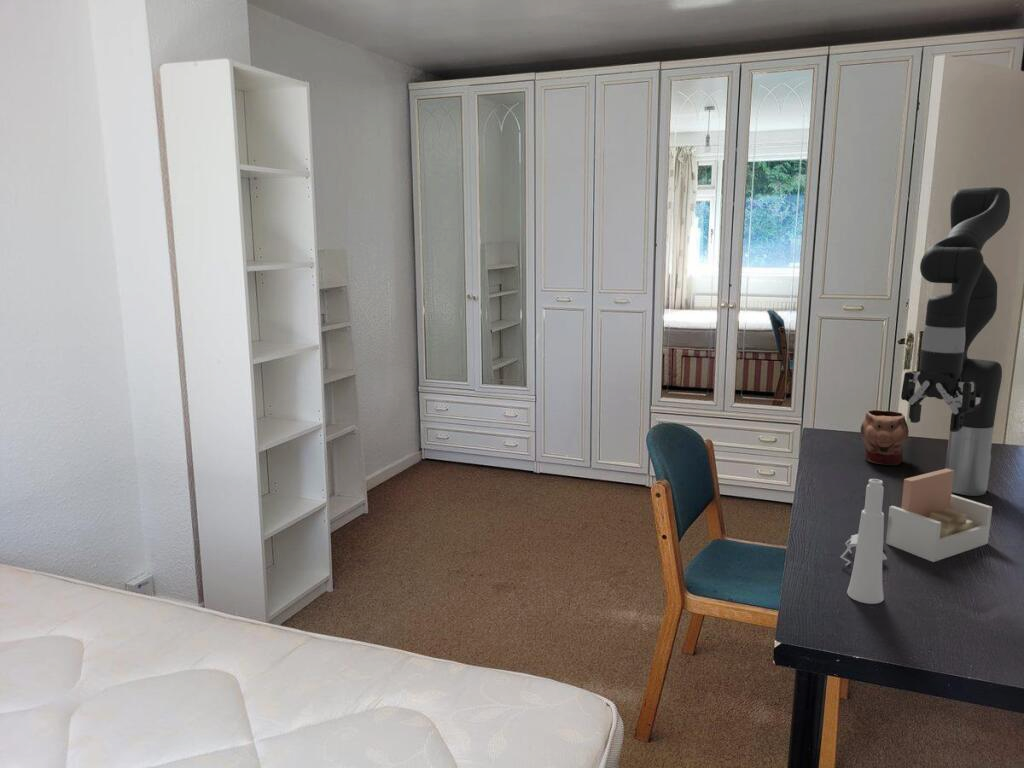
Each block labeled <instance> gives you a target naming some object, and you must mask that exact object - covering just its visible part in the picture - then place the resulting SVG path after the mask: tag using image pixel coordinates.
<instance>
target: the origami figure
mask: <svg viewBox="0 0 1024 768" xmlns="http://www.w3.org/2000/svg"><path fill="white" fill-rule="evenodd" d="M857 540H858V533H856V534H852V535H850V538H849V539H848V540H847V541H846V542H845V543H844V544H845V546H846V547H847V548H846V550H845V551H843V553H842V554H841V555H840V556H839V558H840V559H842V560H844V561H846V562H847V563H845V566H847V567H848V565H849V564H850V563H851V560H849V559H847V558H846V557H845V555H846V554H847V553H848V552H849V553H850V554H852V553H853V552H852V550H851V548H852V547H857ZM883 543H885V540H884V539H883ZM887 560H888V557H887V556H886V555H885V553H884V552H883V556H882V562H883V561H884V562H885V561H887Z"/></svg>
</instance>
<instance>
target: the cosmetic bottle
mask: <svg viewBox="0 0 1024 768" xmlns="http://www.w3.org/2000/svg"><path fill="white" fill-rule="evenodd" d="M884 489H885V488H884V486H883V480H882V479H877V478H869V479H868V484H867V485H866V489H865V490H866V491H865V497H864V499H865V500H864V501H865V503H864V509H862V510H861V514H860V520H859V527H858V532H857V534H858V540H857V546H855V547H856V548H855V555H854V561H853V566H852V570H851V571H852V572H851V576H850V582H849V584H848V588H847V591H846V594H847V595H848V597H849V598H850V599H852V600H854V601H855V602H859V603H862V604H863V603H864V604H869V605H875V604H880V603H882V602H883V601H884V600H885V599H884V598H885V597H884V587H883V561H882V557H883V553H884V551H883V550H884V542H883V540H884V529H885V514H884V512H883V501H884V492H885V491H884Z"/></svg>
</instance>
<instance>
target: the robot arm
mask: <svg viewBox="0 0 1024 768" xmlns="http://www.w3.org/2000/svg"><path fill="white" fill-rule="evenodd" d="M949 209H950V211H949V212H950V215H949V216H950V231H949V232H947V235H946V237H945V238H943V239H941V240H940V241H938V242H936V243H934V244H933V245H931V246H930V247H929V248H928V249H927V250H926V251H925V253H924V254H923V256H922V258H921V261H920V263H919V264H920V265H919V266H920V267H919V271H920V274H921V276H922V277H923V279H924V280H926V281H927V282H929V283H934V284H951V291H950V292H951V293H946V294H940V295H939V294H938V295H935V296H934V295H933V296H931V297H930V298H929V299H928V300H927V303H926V313H925V324H924V330H923V334H922V337H921V338H922V339H921V348H920V349H921V350H920V356H919V357H920V360H919V370H920V371H919V373H918V372H917V371H906V372H905V373H904V376H903V382H902V386H901V387H902V390H901V396H900V398H901V400H902V401H907V402H908V403H909V411H908V418H909V420H910V423H913V424H916V423H919V422H920V421H921V414H922V407H923V406H922V404H921V403H922V402H923V401H924V400H925V399H926V398H935V399H938V400H944V403H946V405H948V406H949V408H950V409H951V416H950V423H949V424H950V425H949V431H948V433H949V434H948V443H947V452H946V460H945V467H944V469H946V468H947V469H951V470H954V475H953V484H952V492H951V493H952V494H958V495H965V496H971V497H972V496H973V497H974V496H976V497H977V496H982V495H985V494H986V491H987V490H988V485H989V476H990V470H991V469H990V468H991V460H992V453H991V451H992V444H993V436H994V426H995V421H996V420H995V418H996V414H997V413H996V412H997V406H998V399H999V394H1000V389H1001V383H1002V378H1003V368H1002V365H1001V364H1000V362H998V361H995V360H986V359H978V358H968V351H969V348H970V347H971V344H972V343H973V341H974V340H975V338H976V337H977V336H978V335H979V333H980V332H981V331H982V330H983V329H984V328H985V327H986V326H987V325H988V324H989V322H991V320H992V319H993V317H994V315H995V313H996V312H997V307H998V282H997V280H996V278H995V276H994V275H993V274H994V273H992V271H991V270H990V268H989V267H988V266H987V265H986V262H984V255H983V254H982V252H981V251H982V250H983V247H984V245H985V244H986V243H987V242H988V241H989V240H990V239H991V238H993V236H994V235H996V234H997V233H998V232H999V231H1000V230H1001V229H1002V228H1003V227H1004V226H1005V225H1006V223H1007V220H1008V218H1009V216H1010V210H1011V197H1010V193H1009V191H1008V190H1007V189H1006V188H1004V187H996V186H993V187H992V186H991V187H973V188H971V187H970V188H961V189H958V190H956V191H955V192H954V193H953V195H952V197H951V202H950V208H949ZM917 382H918V383H919V385H920V386H919V387H918V389H917V390H916V391H915V389H916V383H917ZM977 398H978V399H979V398H980V400H979V403H977V404H976V402H977Z"/></svg>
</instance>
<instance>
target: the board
mask: <svg viewBox="0 0 1024 768" xmlns="http://www.w3.org/2000/svg"><path fill="white" fill-rule="evenodd" d="M945 468H946V467H945ZM945 468H944V469H943V468H942V469H938V470H934V471H931V472H927V473H923V474H919V475H915V476H911V477H907V478H904V480H903V487H902V499H901V506H900V508H901V509H904V510H907V511H910V512H913V513H916V514H919V515H922V516H925V517H927V518H929V516H930V513H933V512H937V511H940V510H944V509H947V508H949V509H950V501H951V494H952V493H953V492H952V484H953V475H954V470H951V469H947V468H946V469H945Z"/></svg>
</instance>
